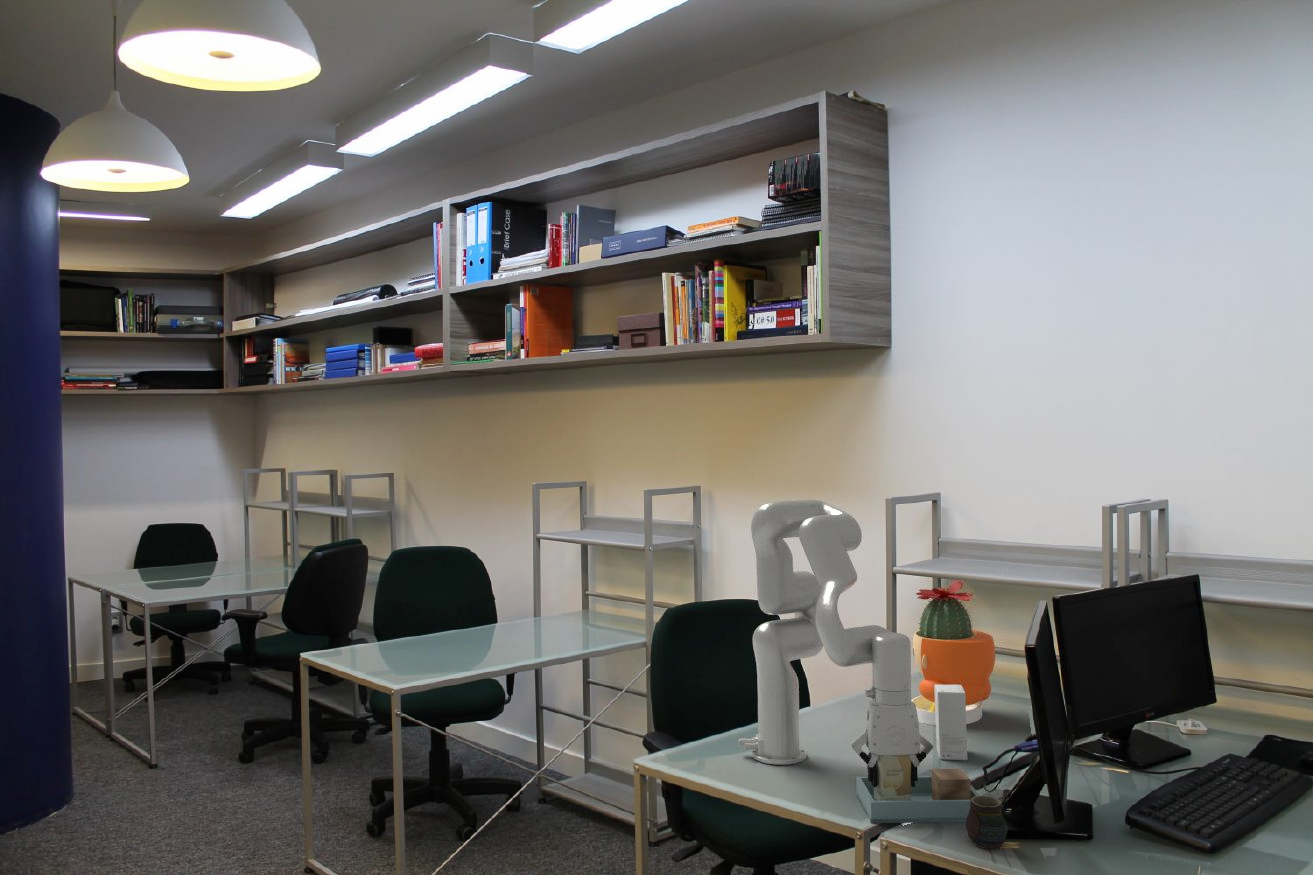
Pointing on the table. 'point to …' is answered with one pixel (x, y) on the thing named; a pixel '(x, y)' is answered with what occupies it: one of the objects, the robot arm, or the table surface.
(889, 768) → the skincare box
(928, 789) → the teal tray
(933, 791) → the walnut block
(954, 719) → the skincare box
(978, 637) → the potted cactus
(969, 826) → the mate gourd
